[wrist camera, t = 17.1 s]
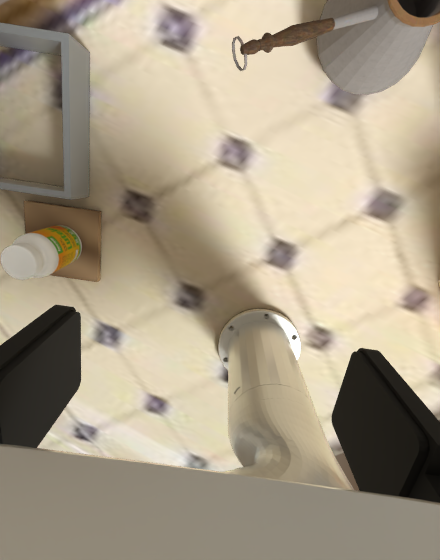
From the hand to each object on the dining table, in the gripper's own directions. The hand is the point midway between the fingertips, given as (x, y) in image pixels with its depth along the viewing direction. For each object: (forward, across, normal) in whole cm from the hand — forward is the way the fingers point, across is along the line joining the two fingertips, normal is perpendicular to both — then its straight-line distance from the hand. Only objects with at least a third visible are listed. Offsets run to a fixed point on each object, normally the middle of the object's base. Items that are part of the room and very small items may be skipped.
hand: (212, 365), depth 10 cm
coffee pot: (+34, -8, -20) cm, 40 cm away
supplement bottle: (+32, +22, +6) cm, 40 cm away
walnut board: (+33, +22, +6) cm, 40 cm away
